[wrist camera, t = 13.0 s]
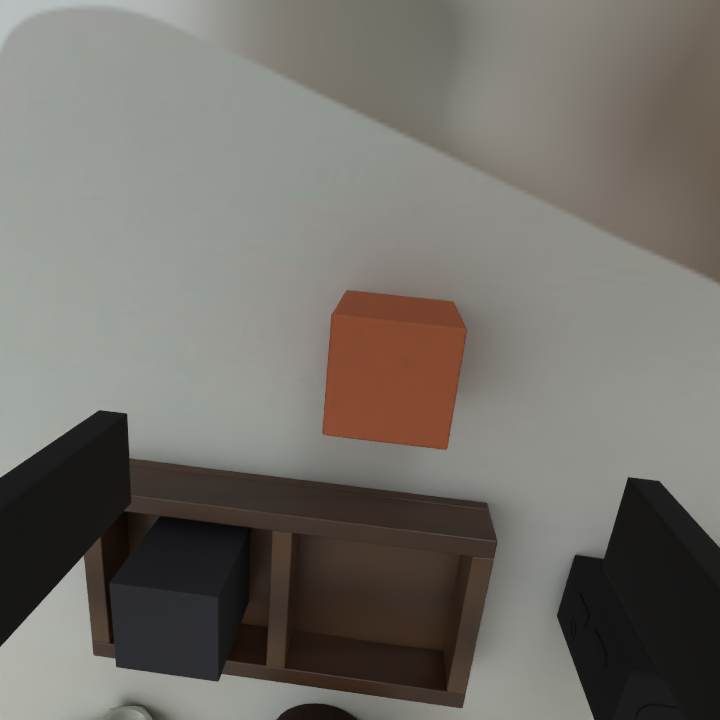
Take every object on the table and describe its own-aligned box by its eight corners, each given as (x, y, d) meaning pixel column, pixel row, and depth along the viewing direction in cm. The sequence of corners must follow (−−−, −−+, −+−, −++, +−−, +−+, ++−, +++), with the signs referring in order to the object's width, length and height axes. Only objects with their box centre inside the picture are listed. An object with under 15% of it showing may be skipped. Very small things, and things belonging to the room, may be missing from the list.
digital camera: (548, 633, 28) (592, 767, 22) (572, 553, 27) (628, 672, 20) (737, 662, 28) (842, 808, 21) (774, 583, 26) (900, 715, 20)
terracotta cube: (345, 289, 23) (331, 313, 19) (454, 301, 23) (467, 328, 18) (337, 390, 25) (321, 435, 20) (438, 401, 25) (447, 450, 20)
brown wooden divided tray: (112, 456, 27) (76, 487, 24) (487, 503, 26) (497, 541, 23) (123, 611, 30) (93, 655, 27) (456, 657, 29) (462, 709, 26)
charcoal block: (159, 515, 27) (108, 582, 23) (250, 527, 27) (218, 597, 22) (163, 590, 29) (115, 667, 24) (249, 601, 29) (218, 682, 24)
